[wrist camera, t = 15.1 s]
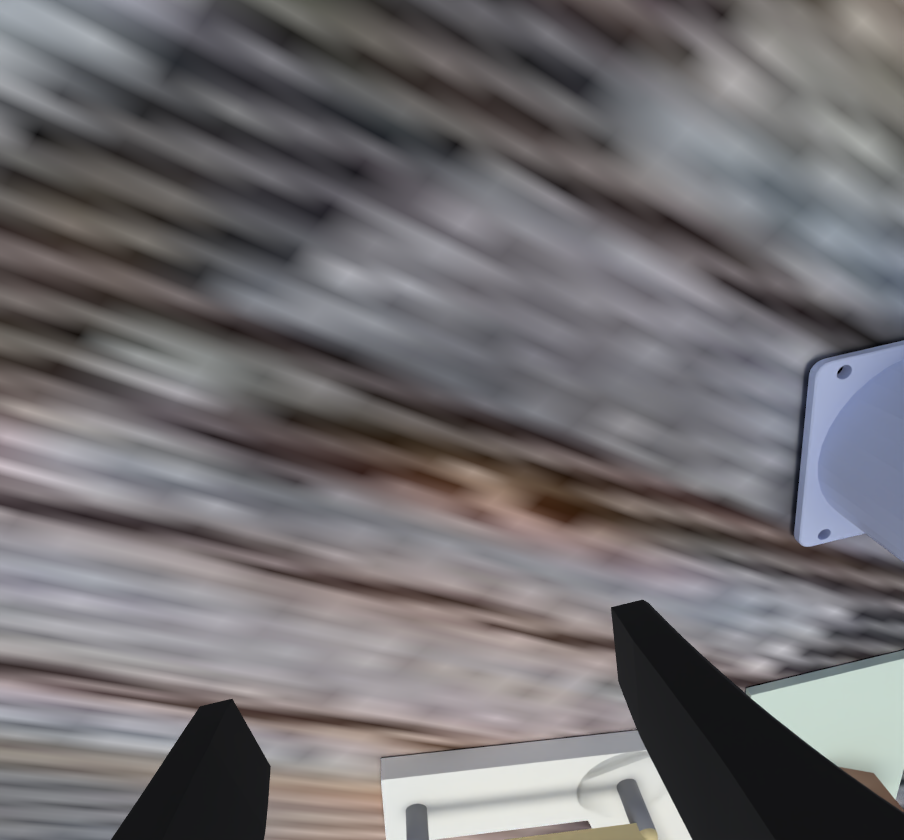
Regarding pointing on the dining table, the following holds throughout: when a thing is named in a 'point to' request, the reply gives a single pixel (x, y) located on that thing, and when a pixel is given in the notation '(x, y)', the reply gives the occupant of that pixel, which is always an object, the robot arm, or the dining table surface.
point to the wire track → (531, 791)
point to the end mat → (846, 713)
